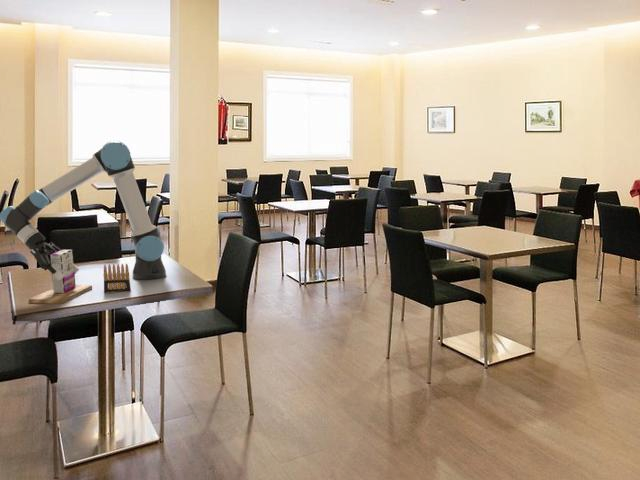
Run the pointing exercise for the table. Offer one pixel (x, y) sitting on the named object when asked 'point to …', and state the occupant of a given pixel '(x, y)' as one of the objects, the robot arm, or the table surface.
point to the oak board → (60, 295)
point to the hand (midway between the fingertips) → (69, 274)
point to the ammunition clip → (116, 279)
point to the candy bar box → (63, 271)
